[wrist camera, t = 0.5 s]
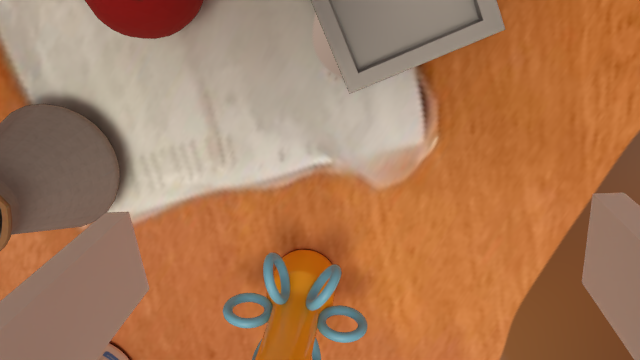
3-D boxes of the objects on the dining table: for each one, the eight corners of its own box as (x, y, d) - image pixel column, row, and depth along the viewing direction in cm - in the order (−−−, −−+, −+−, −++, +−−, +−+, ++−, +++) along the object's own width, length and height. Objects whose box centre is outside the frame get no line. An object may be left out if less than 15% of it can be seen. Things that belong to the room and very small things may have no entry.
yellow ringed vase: (299, 198, 44) (261, 294, 30) (388, 264, 45) (391, 385, 31) (228, 284, 48) (165, 402, 34) (311, 342, 50) (283, 478, 36)
